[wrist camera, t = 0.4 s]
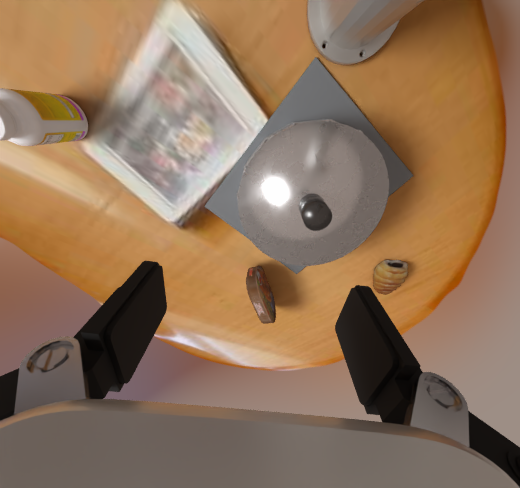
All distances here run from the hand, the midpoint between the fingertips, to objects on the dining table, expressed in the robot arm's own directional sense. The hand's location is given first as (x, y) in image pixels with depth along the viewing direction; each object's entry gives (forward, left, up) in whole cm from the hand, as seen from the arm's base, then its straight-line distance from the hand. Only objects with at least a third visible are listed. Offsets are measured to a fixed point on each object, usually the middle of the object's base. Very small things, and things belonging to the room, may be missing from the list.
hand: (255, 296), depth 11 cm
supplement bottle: (+15, -30, -34) cm, 48 cm away
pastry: (-1, +38, -34) cm, 51 cm away
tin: (+21, +18, -34) cm, 43 cm away
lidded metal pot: (-2, +9, -33) cm, 34 cm away
